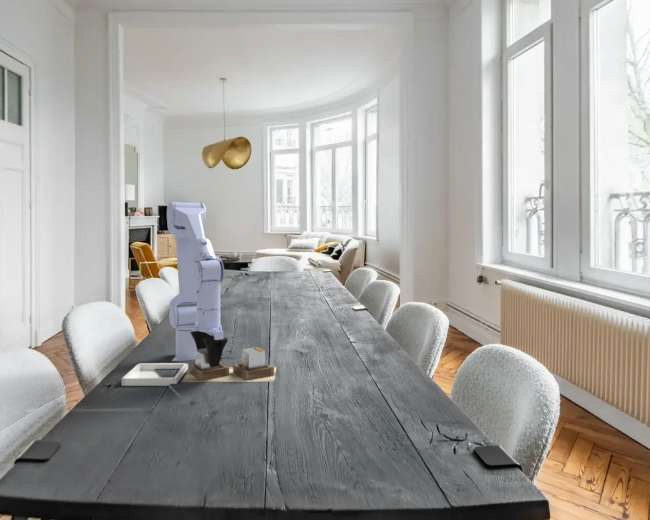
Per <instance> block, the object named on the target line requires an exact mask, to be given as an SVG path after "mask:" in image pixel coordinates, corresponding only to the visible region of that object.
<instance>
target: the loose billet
mask: <svg viewBox="0 0 650 520" xmlns="http://www.w3.org/2000/svg"><path fill="white" fill-rule="evenodd" d="M194 361H195V362H194V364H195V367H197V368H198V369H199V370H200V371H205V370H211V369H218V368H219V366H216V367H210V365H209V361H208V353H207V349H206V348H205V349H197V350H195V359H194Z"/></svg>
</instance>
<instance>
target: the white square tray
mask: <svg viewBox="0 0 650 520" xmlns="http://www.w3.org/2000/svg"><path fill="white" fill-rule="evenodd" d="M157 370H178V371H177V373H176V374H175V375H174V376H173V377H163V376H162V375H161V374H160V373H159V372H158V371H157ZM188 370H189V362H186V363H185V362H181V363H180V362H179V363H177V362H172V363H171V362H169V363H168V362H159V363H158V362H152V363H151V362H150V363H149V362H147V363H146V362H144V363H142V362H138V364H136V365H135V366H134V367H132V369H130V370H129V371H128V372H127V373H126V374H125V375H124V376H122V378H121V379H120V380H121V386H122V387H123V386H125V387H129V386H130V387H133V386H146V387H147V386H148V387H149V386H150V387H151V386H152V387H154V386H159V387H160V386H170V387H171V385H177V384H178V382H179V381H180V380H181V378H182V377H183V376H184V374H185V373H186V372H187V371H188Z"/></svg>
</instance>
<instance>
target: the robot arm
mask: <svg viewBox="0 0 650 520" xmlns="http://www.w3.org/2000/svg"><path fill="white" fill-rule="evenodd" d="M166 207H167V208H166V222H167V230H168V233H169V234H171V235H173V236H174V242H175V249H176V251H175V252H176V262H177V276H178V277H177V278H178V290H179V291H178V292H179V293H178V294H177V295H175V296H174V297H173V298H172V299H171V300H170V302H169V314H168V315H169V316H168V317H169V324H170V326H171V327H172V328H173V329H175V356H174V358H172V360H171V362H185V361H187V362H188V361H193V360H194V361H195V350H197V349H205V348H206V349H207V353H208V361H209V365H210V367H216V366H219V363H220V362H221V359H222V354H223V351H224V348H225V347H226V344H228V337H224V330H222V325H221V283H222V282H223V281H224V278H225V267H224V263H223V260H222V259H221V258H220V257H219V256H217V255H216V254H215V251H214V247H213V244H212V242H211V240H210V239H208V238H206V235H205V229H204V226H205V223H206V220H207V208H206V204H205V203H204V202H183V201H182V202H181V201H180V202H177V201H169V203H168V204H167V206H166Z"/></svg>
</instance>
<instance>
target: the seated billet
mask: <svg viewBox="0 0 650 520" xmlns="http://www.w3.org/2000/svg"><path fill="white" fill-rule="evenodd" d="M241 363H242V368H243V369H245V370H246V371H250V370H256V369H262V368H265V363H266V350H264V349H262V348H261V347H257V346H256V347H250V348H249V347H248V348H242V349H241Z"/></svg>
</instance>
